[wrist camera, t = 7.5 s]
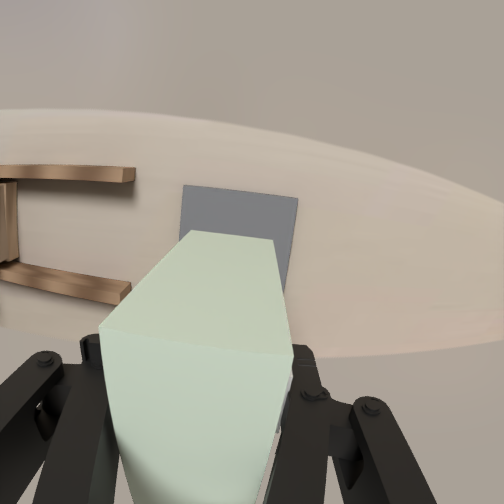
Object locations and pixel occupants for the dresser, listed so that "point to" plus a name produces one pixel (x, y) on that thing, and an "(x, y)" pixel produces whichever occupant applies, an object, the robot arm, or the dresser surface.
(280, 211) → the rubber pad
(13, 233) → the offcut stack
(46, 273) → the rack
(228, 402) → the block
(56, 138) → the dresser surface
